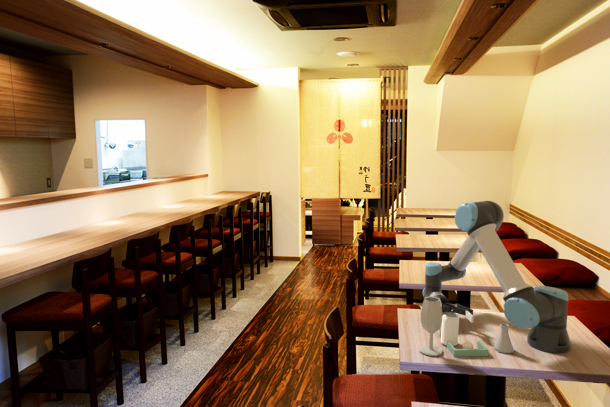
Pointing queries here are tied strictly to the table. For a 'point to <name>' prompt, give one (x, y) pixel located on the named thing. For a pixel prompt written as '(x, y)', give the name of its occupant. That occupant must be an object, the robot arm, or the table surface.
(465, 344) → the ball
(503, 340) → the flask
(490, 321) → the table surface
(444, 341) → the can
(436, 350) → the wineglass
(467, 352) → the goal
